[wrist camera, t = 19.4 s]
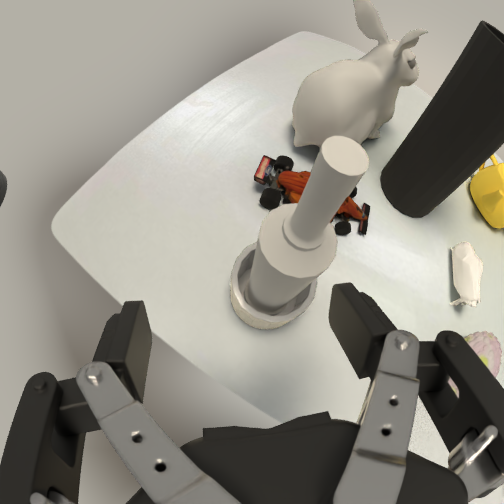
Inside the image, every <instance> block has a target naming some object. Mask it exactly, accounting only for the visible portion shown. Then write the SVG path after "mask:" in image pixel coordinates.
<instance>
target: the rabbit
mask: <svg viewBox="0 0 504 504" xmlns="http://www.w3.org/2000/svg"><path fill="white" fill-rule="evenodd" d="M353 2H354V7H355V15H356V21H357V24H358V27H359V29H360V30H361V31H362V32H363V34H364V35H365V36H366V37H368V38H370V39H375V40H378V42H379V43H378V46H376V47H375V48H373V49H372V50H371V51H370V52H369V53H367V54H366V55H365V56H363V57H362V58H360V59H359V60H341V61H337V62H335V63H333V64H331V65H329V66H327V67H324V68H322V69H319V70H317V71H315V72H313V73H311V74H310V75H309V76H307V77H306V78H305V80H304V81H303V82H302V84H301V86H300V88H299V91H298V94H297V97H296V98H295V101H294V104H293V109H292V112H293V121H292V126H293V128H294V129H295V137H294V145H295V146H296V147H302V146H306V145H311V144H314V145H317V146H319V150H320V148H321V146H322V144H323V143H324V141H325V140H326V139H327V138H330V137H332V136H344V137H347V138H350V139H352V140H354V141H355V142H357V143H358V144H360V145H361V144H362V142H363V141H364V140H365V139H366V138H370V139H374V138H379V137H380V134H379V133H380V132H379V130H378V129H379V127H380V126H381V125H382V124H383V123H386V122H388V121H389V120H390V119H391V118H392V116H393V114H394V109H395V101H396V98H397V94H398V90H399V88H400V87H401V86H410V85H411V84H413V83H414V82H415V81H416V80H417V78H418V76H419V70H418V66H417V63H416V60H415V58H416V56H415V55H414V54H413V53H412V51H411V50H410V48H411V47H413V46H415V45H416V44H417V42H418V39H419V36H421V35H422V34H425V33H428V31H427V30H424V29H416V30H413V31H410V32H409V33H407V34H406V35H405V36H404V37H403V38H402V40H401V41H396V40H390V41H389V40H388V36H387V33H386V32H385V30H384V28H383V26H382V23H381V20H380V17H379V14H378V11H377V10H376V8H375V6H374V5H373V4H372V2H371V1H370V0H353ZM361 147H362V145H361Z"/></svg>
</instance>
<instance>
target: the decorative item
mask: <svg viewBox="0 0 504 504" xmlns="http://www.w3.org/2000/svg"><path fill="white" fill-rule="evenodd" d="M464 339H465V341H466V342H467V343H468V344H469V345H470V347H471V348H472V349H473V350H474V351H475V353H476V354H477V355H478V356H479V358H480V359H481V360H482V361H483V363H484V364H485V365H486V366H487V368H488V369H489V370H490V372H491V373H492V374H493V376H494V377H495V378H496V376H497V374H498V372H499V367H500V364H501V354H502V350H501V348H500V343H499V342H498V339H497V337H495V336H494V335H493V333H491V332H490V333H488V332H487V331H483V332H475V333H474V334H470V335H468V336H467V337H465V338H464ZM448 383H449V384H450V386H451V387H452V389H453V390H454V392H455V394H456V395H457V397H458V398H459V391H458V388H457V386H456V385H455V383H454V382H453V380H452V379H451V378H450V379H449V381H448Z"/></svg>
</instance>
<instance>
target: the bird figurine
mask: <svg viewBox="0 0 504 504" xmlns="http://www.w3.org/2000/svg"><path fill="white" fill-rule="evenodd" d="M450 249H451V251H452V261H453V280H454V286H455V288H456V290H457V291H458V293H459V294H460V297H461V298H459V299H457V300H455V301H453V302H452V303H450V305H454V304H455V305H454V306H456V305H458V304H461V306H462V305H466V304H469V305H470V306H471V307H476V305H477V303H480V302H481V300H480V279H481V276H482V270H483V264H482V261H481V259H480V258H479V257H477V255H476V254H475V250H474V249H473V247H472V246H471V244H470V243H468V242H466V241H465V242H461V243H458V244H456V245H455V247H454V248H451V247H450Z"/></svg>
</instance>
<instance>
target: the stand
mask: <svg viewBox="0 0 504 504" xmlns="http://www.w3.org/2000/svg"><path fill="white" fill-rule="evenodd" d="M256 246H257V242H255V243H253V244H251V245H249V246H247V247H246V248H245V249H244V250H243V251H242V253H241V254H240V255H239V256H238V257H237V258H236V261H235V264H234V267H233V270H232V273H231V285H230V294H231V303H232V306H233V308H234V310H235V312H236V314H237V315H238V316H239V318H240V319H241V320H242V321H244V322H245V323H246V324H248V325H250V326H252V327H254V328H258V329H264V330H267V329H275V328H279V327H281V326H282V325H284V324H286V323H288V322H290V321H291V320H293V319H294V318H296V317H297V316H299V315H300V314H302V313H303V312H305V310H306V309H307V308H308V306H309V305H310V303H311V302H312V301H313V299H314V296H315V292H316V287H317V278H316V279H315V280H314V281H313V282H311V283H310V284H309V285H308V286H307V287H306V288H304V289H303V290H302V291H301V292H300V293H299V294H297V295H296V296H295V297H294V298H293V299H292V300H290V302H289V303H288V305H287V306H286V307H285V309H284V310H282V311H281V312H279V313H277V314H276V315H267V314H264V313H260V312H258V311H256V310H255V309H254V308H253V307H251V306H250V305H249V304H248V303H247V302H246V300H245V294H244V290H245V286H246V283H247V281H248V279H249V278H250V275H251V270H252V265H253V260H254V255H255V250H256Z"/></svg>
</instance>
